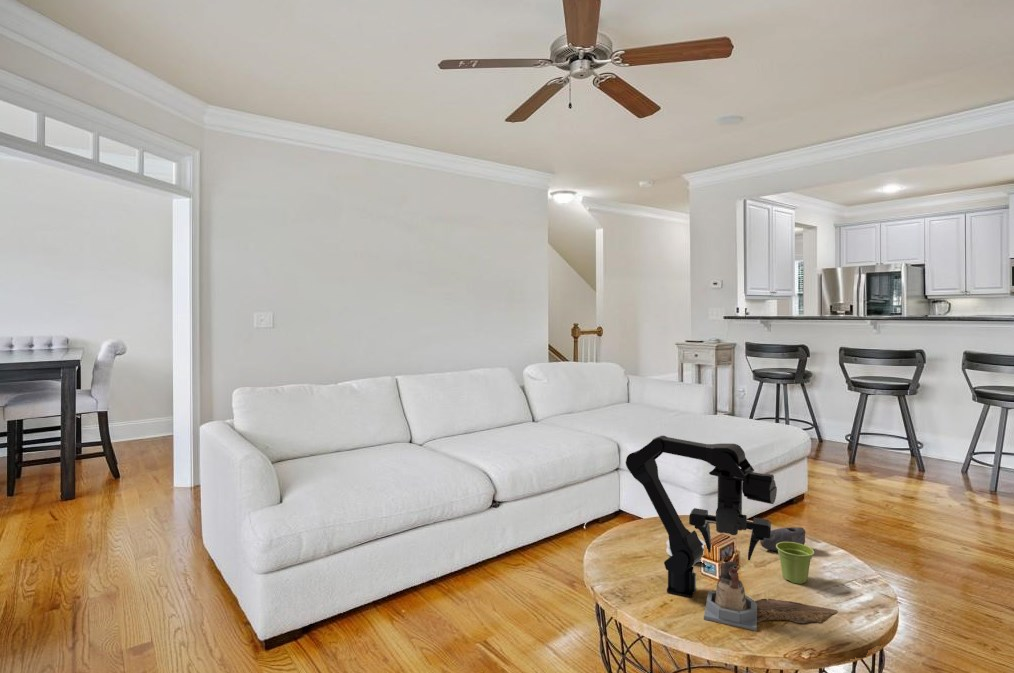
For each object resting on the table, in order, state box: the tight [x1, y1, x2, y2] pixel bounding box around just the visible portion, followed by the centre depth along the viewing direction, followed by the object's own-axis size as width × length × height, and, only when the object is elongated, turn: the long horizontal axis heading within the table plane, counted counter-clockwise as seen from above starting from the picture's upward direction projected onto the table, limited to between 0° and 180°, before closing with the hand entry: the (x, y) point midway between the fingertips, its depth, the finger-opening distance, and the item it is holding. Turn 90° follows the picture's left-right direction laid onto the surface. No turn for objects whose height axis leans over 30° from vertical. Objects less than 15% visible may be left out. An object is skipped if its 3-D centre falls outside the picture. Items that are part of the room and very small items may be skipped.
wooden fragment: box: [754, 598, 838, 624], centre depth 131 cm, size 26×11×1 cm, turn 85°
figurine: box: [715, 560, 747, 612], centre depth 130 cm, size 7×7×12 cm
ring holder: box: [703, 590, 758, 632], centre depth 131 cm, size 12×12×3 cm
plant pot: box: [776, 542, 815, 585], centre depth 148 cm, size 9×9×9 cm
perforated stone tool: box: [759, 526, 806, 552], centre depth 167 cm, size 15×5×7 cm, turn 91°
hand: (729, 555), depth 133 cm, fingers open, 9 cm apart
